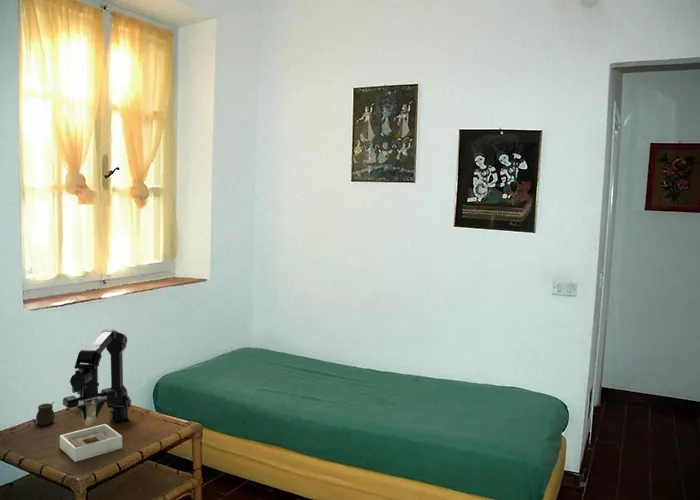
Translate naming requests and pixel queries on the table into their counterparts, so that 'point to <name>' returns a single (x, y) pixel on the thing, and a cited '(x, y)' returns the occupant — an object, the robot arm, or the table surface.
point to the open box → (90, 449)
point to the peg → (90, 414)
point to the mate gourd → (45, 414)
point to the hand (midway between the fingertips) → (90, 418)
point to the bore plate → (88, 439)
